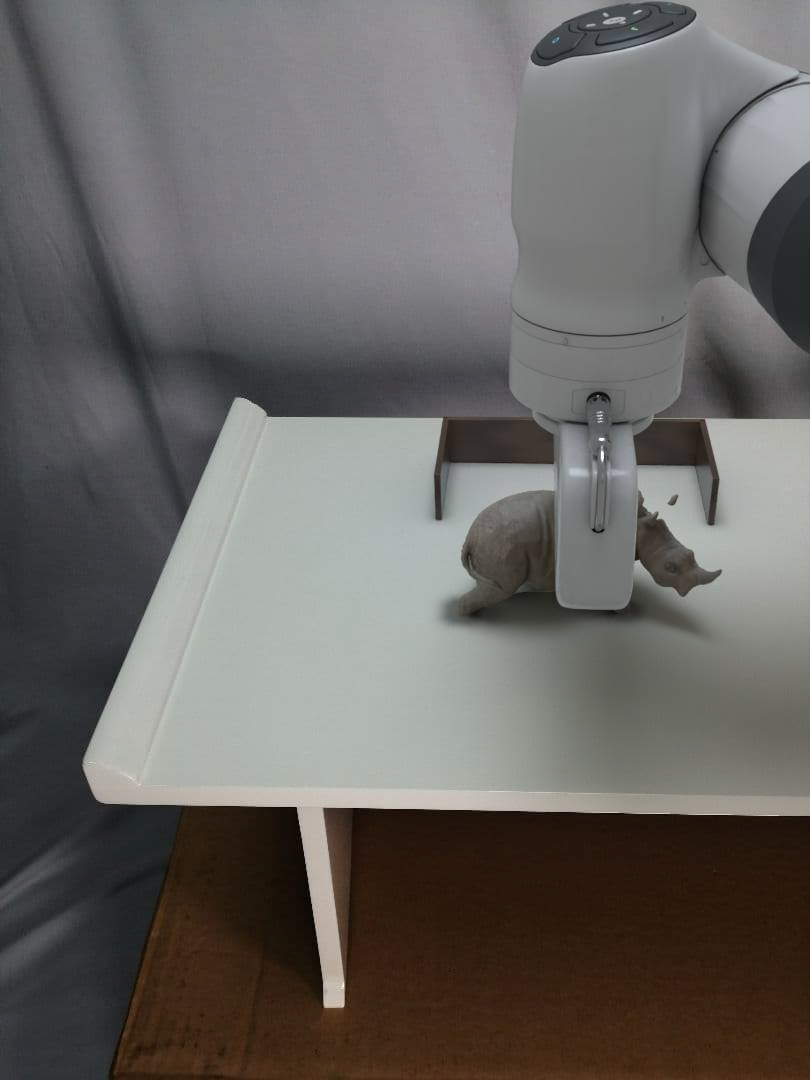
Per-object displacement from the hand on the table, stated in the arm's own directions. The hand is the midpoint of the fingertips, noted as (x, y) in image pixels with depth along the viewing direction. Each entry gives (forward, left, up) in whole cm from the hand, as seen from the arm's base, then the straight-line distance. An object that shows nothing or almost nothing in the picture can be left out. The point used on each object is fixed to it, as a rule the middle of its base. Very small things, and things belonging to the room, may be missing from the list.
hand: (583, 578), depth 67 cm
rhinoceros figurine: (0, -9, -9) cm, 13 cm away
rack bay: (0, -25, -9) cm, 27 cm away
